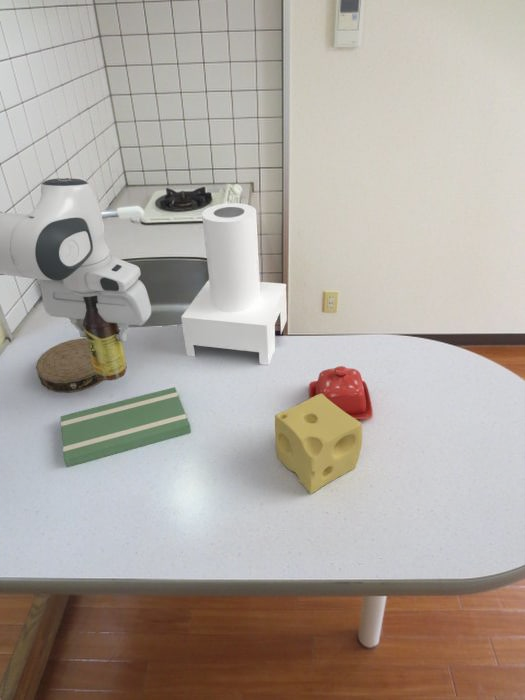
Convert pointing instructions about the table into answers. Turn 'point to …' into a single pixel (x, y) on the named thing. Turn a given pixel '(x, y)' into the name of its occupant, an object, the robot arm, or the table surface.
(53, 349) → the wooden log slice
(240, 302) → the paper towel holder
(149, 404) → the towel
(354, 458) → the cheese
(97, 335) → the sauce bottle
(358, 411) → the butter dish
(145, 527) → the table surface
